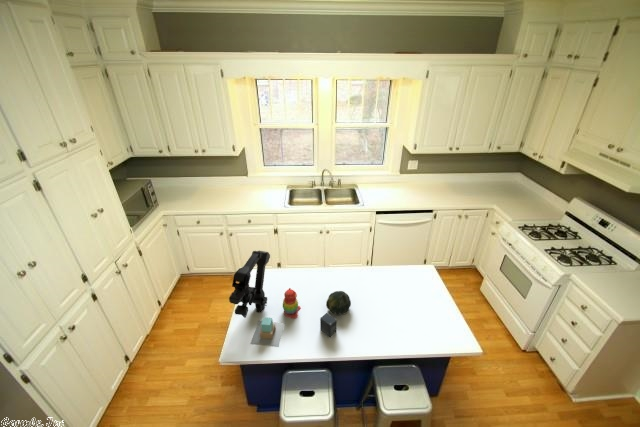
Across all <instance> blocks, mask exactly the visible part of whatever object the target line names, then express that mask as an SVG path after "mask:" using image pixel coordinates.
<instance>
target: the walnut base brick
mask: <svg viewBox="0 0 640 427" xmlns="http://www.w3.org/2000/svg"><path fill="white" fill-rule="evenodd" d="M275 329H276V327H275V324H273V327H272V330H271V332H262V328H261V331H260V338H267V339H273V336H274V333H275Z"/></svg>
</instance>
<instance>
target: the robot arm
mask: <svg viewBox="0 0 640 427" xmlns="http://www.w3.org/2000/svg"><path fill="white" fill-rule="evenodd" d="M270 259H271V254H270V252H269V251H265V250H253V251H252V253H251V255H250V256H249V258H248V260H247V261H245V264H244V265H243V266H241V267H240V268H238V269H237V270H236V271H235V273H234V274H233V278H232V285H231V287H233V288H234V290H233V291H232V292H231V294H230V295H229V297H228V301H229V303H230V304H233V305H236V307H235V309H234V315H237V316H239V315H240V316H242V317H243V318H244V319H245V318H247V315H248V312H249V306H252V304H254V305H255V311H256V313H262V311H264V310H265V308H266V307H267V305H268V297H267V296H265V294H266V293H265V291H264V288H263V287H264V281H265V272H266V266H267V265H268V263H269V262H270ZM255 266H256V273H255V274H256V275H255V282H254V286H250V280H251V277H252V276H251V273H252V271H253V269H254V268H255ZM237 282H238V283H237ZM240 303H242V304H241V305H240ZM248 305H249V306H248Z"/></svg>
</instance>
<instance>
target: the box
mask: <svg viewBox="0 0 640 427" xmlns="http://www.w3.org/2000/svg"><path fill="white" fill-rule="evenodd" d="M319 320H320V321H319V323H320V324H319V327H320V328H319V330H320V332H322V333H323V334H324V335H326V337H328V338H330V339H331V338H332V337H333V336H334V335H335V334H336V333H337V323H338V320H337V319H336V318H335V317H333V316H332V315H331V314H329V313H328V312H326V313H324V315H322V316H321V317H320V318H319Z"/></svg>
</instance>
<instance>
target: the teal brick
mask: <svg viewBox="0 0 640 427" xmlns="http://www.w3.org/2000/svg"><path fill="white" fill-rule="evenodd" d="M261 321H262V323H261V327H262V332H271V330H272V327H273V322H274V321H273V317H267V316H266V317H265V316H263V318H262V320H261Z"/></svg>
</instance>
